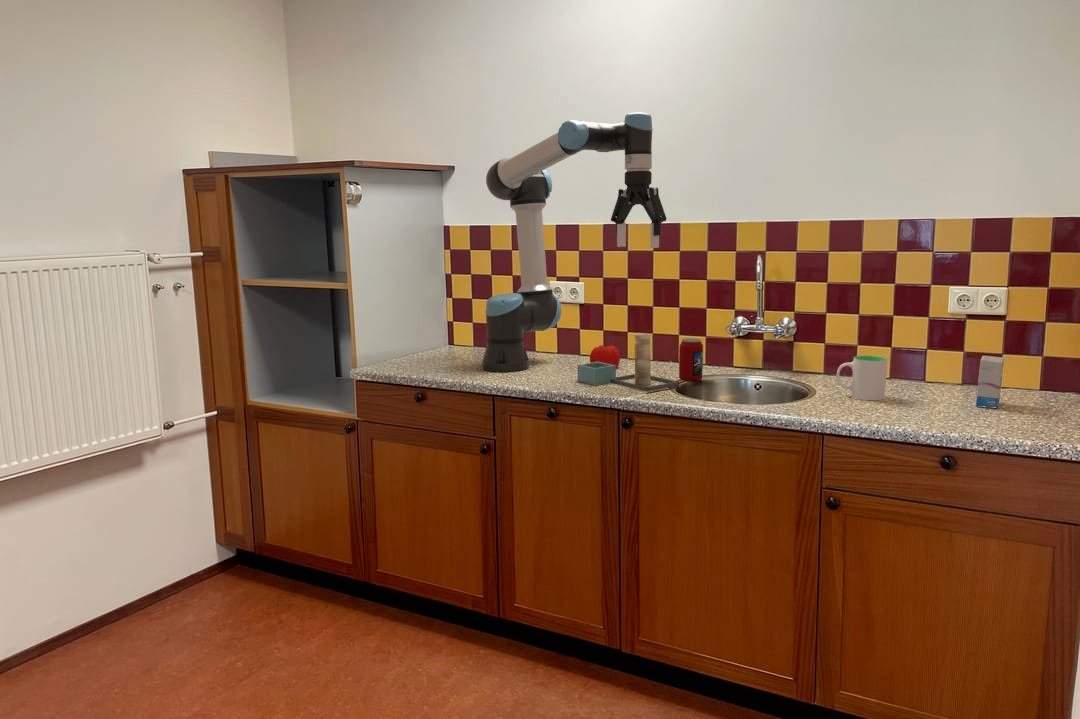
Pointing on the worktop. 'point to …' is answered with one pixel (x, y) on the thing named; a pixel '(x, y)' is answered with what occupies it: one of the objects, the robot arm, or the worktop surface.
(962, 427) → the worktop surface
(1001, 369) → the ink box
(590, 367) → the teal open box
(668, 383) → the dark grey rectangular frame
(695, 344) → the beverage can
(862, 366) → the mug
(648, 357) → the dowel
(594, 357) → the tomato
